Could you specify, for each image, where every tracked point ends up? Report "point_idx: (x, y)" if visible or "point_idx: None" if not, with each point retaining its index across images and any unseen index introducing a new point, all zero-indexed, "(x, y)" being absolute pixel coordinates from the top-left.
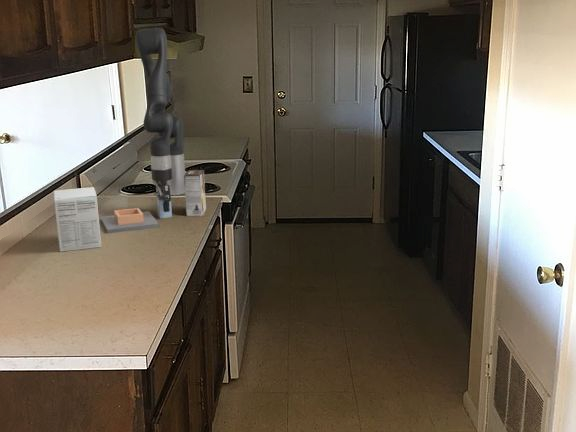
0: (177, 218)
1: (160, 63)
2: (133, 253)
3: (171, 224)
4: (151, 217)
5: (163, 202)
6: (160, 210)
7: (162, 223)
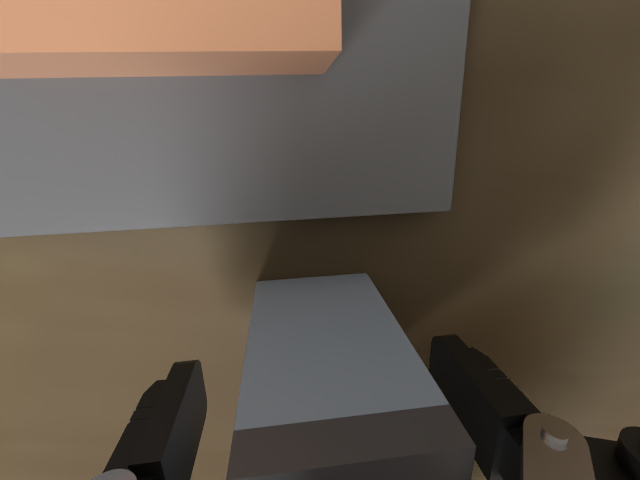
0: None
1: None
2: None
3: (6, 349)
4: (187, 201)
5: (137, 468)
6: (250, 330)
7: (61, 279)
